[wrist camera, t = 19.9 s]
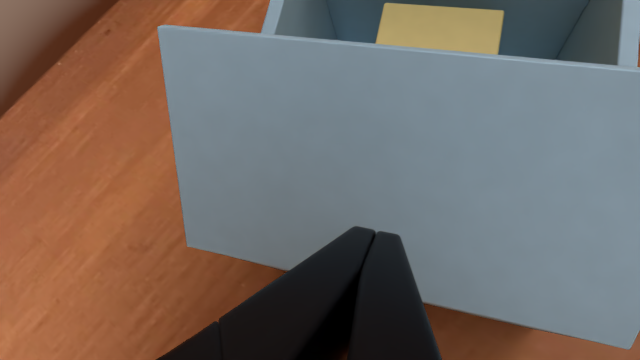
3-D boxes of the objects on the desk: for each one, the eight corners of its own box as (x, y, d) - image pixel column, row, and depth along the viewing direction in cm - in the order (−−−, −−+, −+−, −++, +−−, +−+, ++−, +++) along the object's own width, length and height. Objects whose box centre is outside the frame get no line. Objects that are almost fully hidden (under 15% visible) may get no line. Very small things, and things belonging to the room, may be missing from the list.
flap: (625, 340, 10) (630, 350, 9) (192, 240, 12) (186, 246, 12) (757, 77, 7) (769, 82, 7) (165, 24, 10) (156, 26, 9)
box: (534, 329, 17) (618, 346, 10) (274, 267, 20) (197, 248, 13) (564, 57, 20) (648, -79, 13) (331, 37, 23) (294, -85, 16)
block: (486, 71, 20) (505, 9, 16) (471, 161, 19) (488, 121, 15) (389, 61, 21) (383, 1, 17) (371, 146, 20) (360, 105, 16)
